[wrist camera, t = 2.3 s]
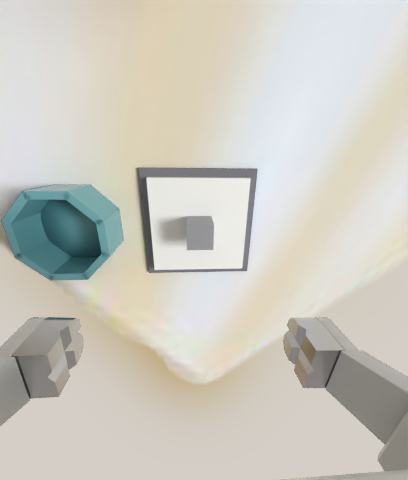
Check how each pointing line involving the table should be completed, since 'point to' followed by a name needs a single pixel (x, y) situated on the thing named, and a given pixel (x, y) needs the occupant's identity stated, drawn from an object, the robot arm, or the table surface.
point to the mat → (195, 173)
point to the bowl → (63, 230)
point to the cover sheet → (198, 203)
